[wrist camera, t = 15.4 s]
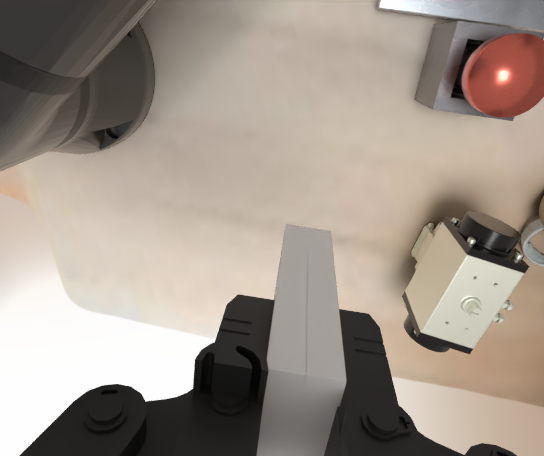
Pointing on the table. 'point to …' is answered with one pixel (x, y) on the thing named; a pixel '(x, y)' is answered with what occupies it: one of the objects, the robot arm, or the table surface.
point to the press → (463, 40)
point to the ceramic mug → (530, 232)
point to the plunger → (503, 74)
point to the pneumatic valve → (461, 281)
